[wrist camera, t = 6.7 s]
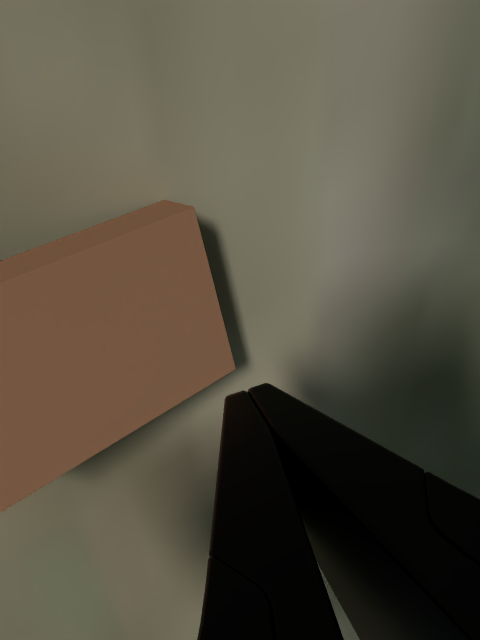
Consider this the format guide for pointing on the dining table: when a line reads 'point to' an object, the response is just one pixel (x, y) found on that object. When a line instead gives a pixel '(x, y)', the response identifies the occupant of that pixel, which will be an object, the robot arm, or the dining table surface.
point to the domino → (102, 340)
